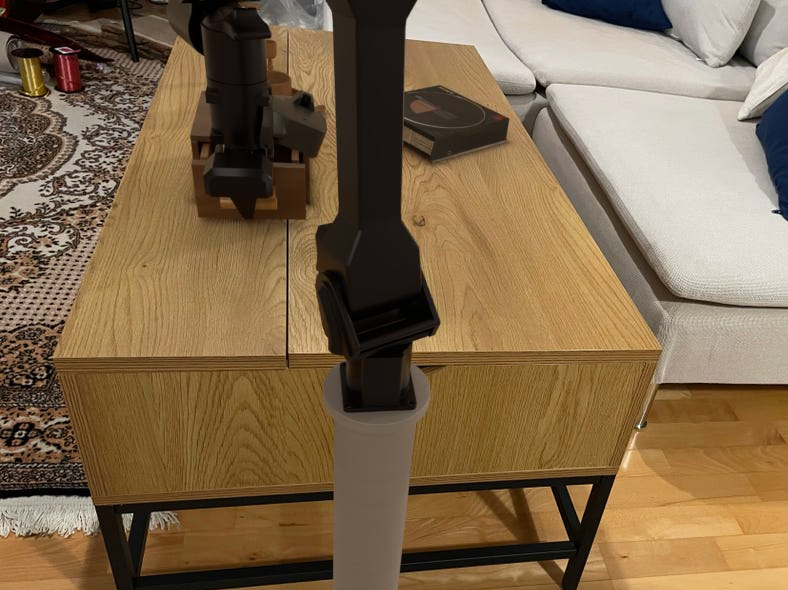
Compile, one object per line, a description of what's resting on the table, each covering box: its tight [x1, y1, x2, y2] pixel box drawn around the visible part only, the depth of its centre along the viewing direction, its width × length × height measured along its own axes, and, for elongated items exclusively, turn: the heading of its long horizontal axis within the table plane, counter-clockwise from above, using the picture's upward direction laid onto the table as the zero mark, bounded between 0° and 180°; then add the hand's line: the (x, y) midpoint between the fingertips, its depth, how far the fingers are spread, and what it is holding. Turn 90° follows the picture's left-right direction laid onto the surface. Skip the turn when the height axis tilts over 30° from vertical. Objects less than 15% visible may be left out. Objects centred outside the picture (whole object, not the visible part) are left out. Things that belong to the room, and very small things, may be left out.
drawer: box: [190, 142, 307, 221], centre depth 86 cm, size 18×12×7 cm
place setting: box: [266, 39, 327, 114], centre depth 115 cm, size 18×20×6 cm
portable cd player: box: [403, 84, 510, 164], centre depth 113 cm, size 16×17×4 cm
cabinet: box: [189, 90, 311, 205], centre depth 92 cm, size 15×14×9 cm
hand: (248, 218), depth 78 cm, fingers closed
